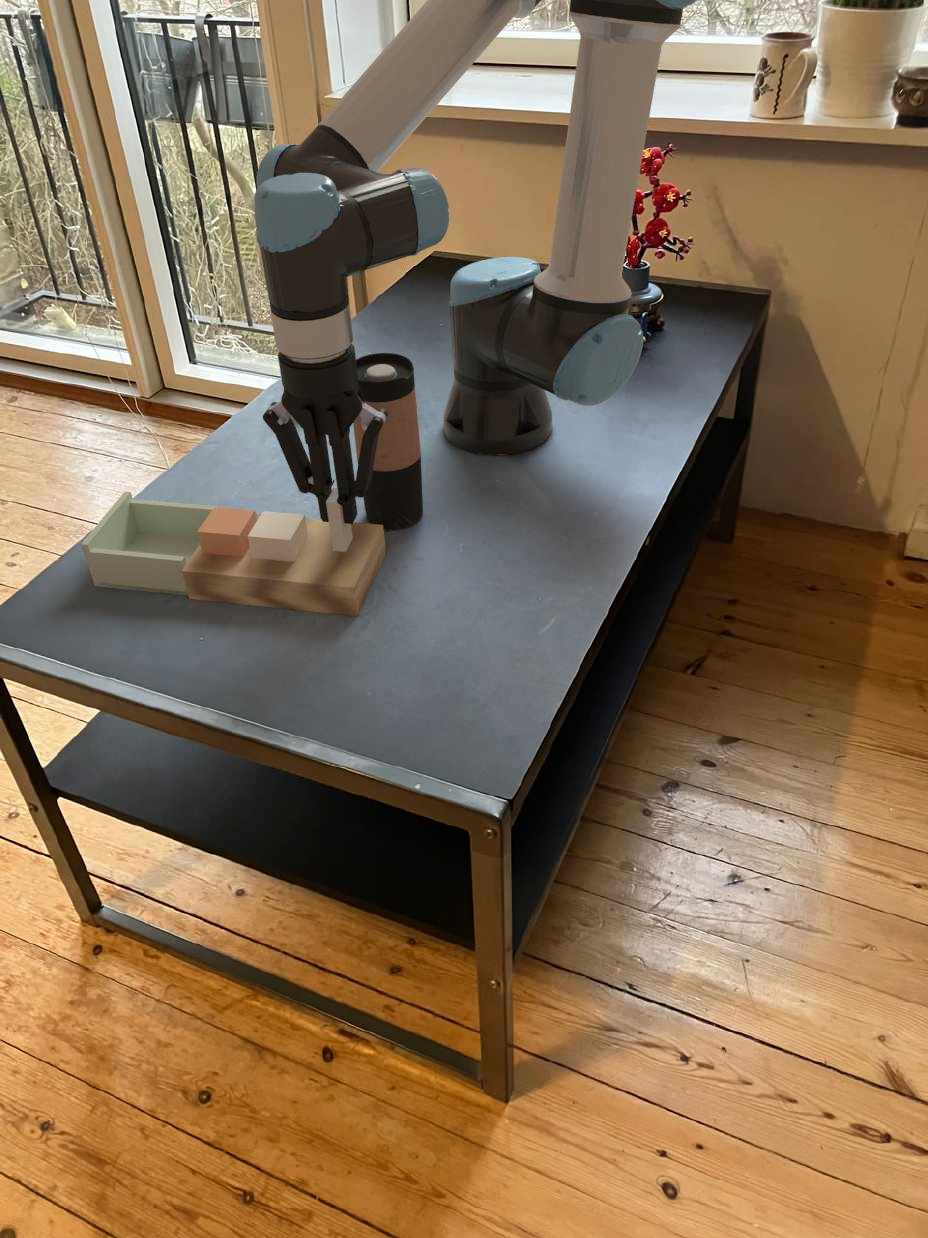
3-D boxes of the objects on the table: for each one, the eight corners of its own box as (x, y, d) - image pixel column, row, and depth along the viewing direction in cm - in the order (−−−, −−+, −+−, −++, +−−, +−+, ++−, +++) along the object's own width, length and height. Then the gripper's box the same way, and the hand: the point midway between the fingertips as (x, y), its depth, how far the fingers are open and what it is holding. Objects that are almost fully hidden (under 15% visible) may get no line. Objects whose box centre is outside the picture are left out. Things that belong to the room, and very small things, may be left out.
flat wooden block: (385, 552, 123) (383, 524, 120) (357, 616, 114) (354, 587, 111) (228, 538, 126) (222, 511, 124) (189, 598, 117) (181, 570, 115)
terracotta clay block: (259, 531, 120) (255, 510, 118) (243, 557, 116) (239, 535, 114) (219, 528, 121) (214, 506, 119) (202, 553, 117) (197, 531, 115)
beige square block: (308, 536, 119) (304, 514, 117) (294, 561, 115) (290, 540, 113) (267, 532, 120) (263, 511, 118) (252, 557, 116) (247, 536, 114)
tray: (227, 540, 126) (217, 499, 122) (191, 596, 118) (179, 553, 114) (136, 532, 128) (124, 491, 124) (95, 586, 120) (80, 544, 116)
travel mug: (356, 507, 130) (337, 360, 118) (412, 492, 133) (400, 346, 120) (376, 538, 125) (359, 388, 112) (434, 522, 127) (424, 373, 114)
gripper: (390, 333, 102) (407, 529, 117) (265, 327, 104) (298, 520, 119) (369, 367, 96) (390, 569, 111) (238, 360, 99) (276, 558, 114)
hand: (343, 544), depth 115 cm, fingers closed
